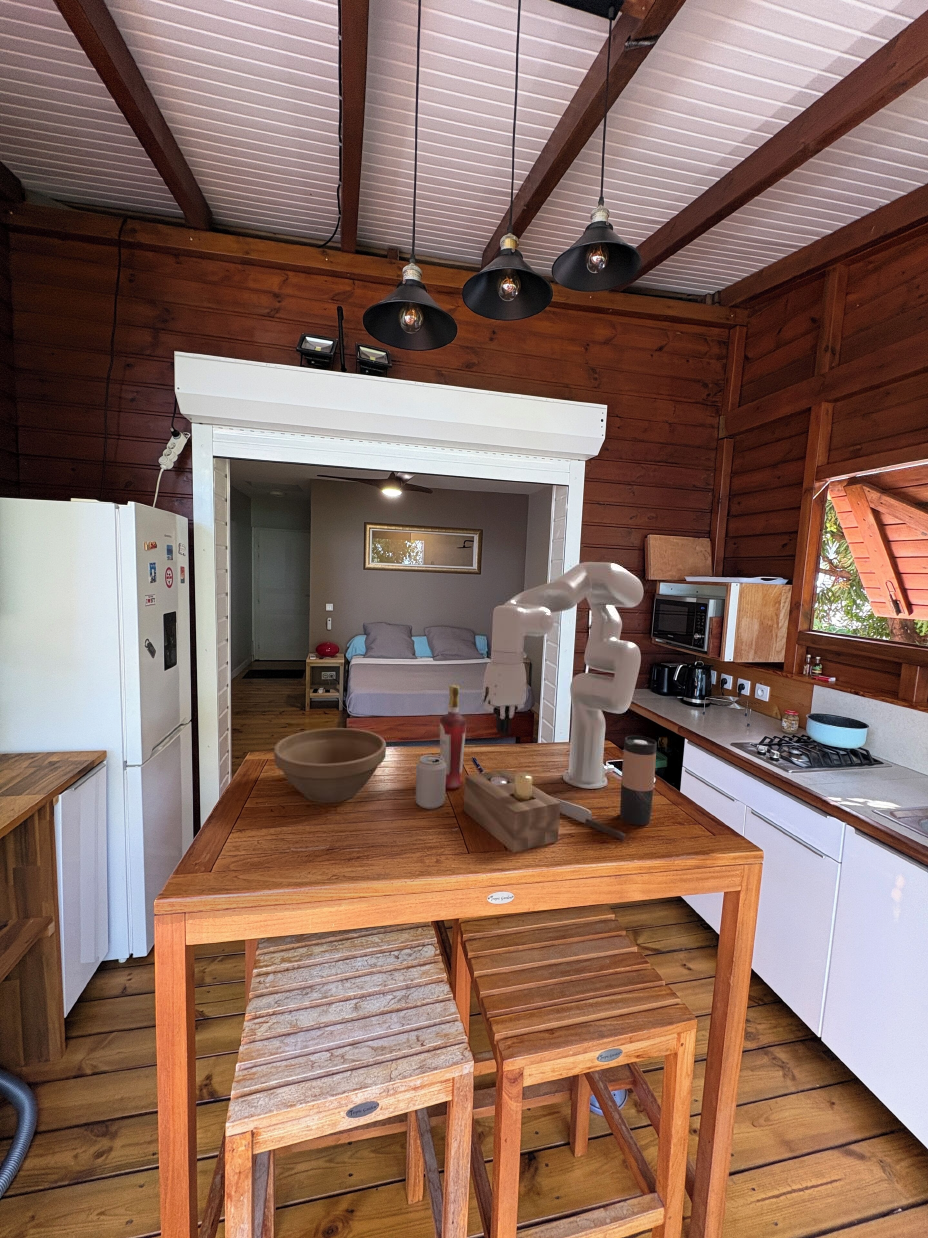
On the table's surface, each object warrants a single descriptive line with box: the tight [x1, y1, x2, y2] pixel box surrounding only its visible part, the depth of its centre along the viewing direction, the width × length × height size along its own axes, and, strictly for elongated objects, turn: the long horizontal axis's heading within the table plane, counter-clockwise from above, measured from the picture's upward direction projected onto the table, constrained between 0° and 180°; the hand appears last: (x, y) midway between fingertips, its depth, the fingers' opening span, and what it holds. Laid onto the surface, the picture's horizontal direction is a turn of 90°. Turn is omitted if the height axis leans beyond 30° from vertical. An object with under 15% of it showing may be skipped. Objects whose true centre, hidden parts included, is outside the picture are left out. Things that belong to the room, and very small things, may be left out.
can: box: [415, 754, 446, 810], centre depth 137 cm, size 8×8×12 cm
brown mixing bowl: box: [273, 727, 387, 804], centre depth 141 cm, size 28×28×13 cm
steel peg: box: [491, 777, 507, 786], centre depth 131 cm, size 4×4×8 cm
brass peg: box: [514, 771, 534, 802], centre depth 122 cm, size 4×4×8 cm
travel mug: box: [619, 735, 657, 826], centre depth 133 cm, size 8×8×20 cm
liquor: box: [439, 685, 467, 790], centre depth 148 cm, size 7×7×28 cm
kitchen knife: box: [549, 795, 627, 841], centre depth 134 cm, size 4×1×30 cm
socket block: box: [463, 768, 561, 854], centre depth 127 cm, size 12×22×9 cm, turn 29°
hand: (503, 733), depth 129 cm, fingers closed
